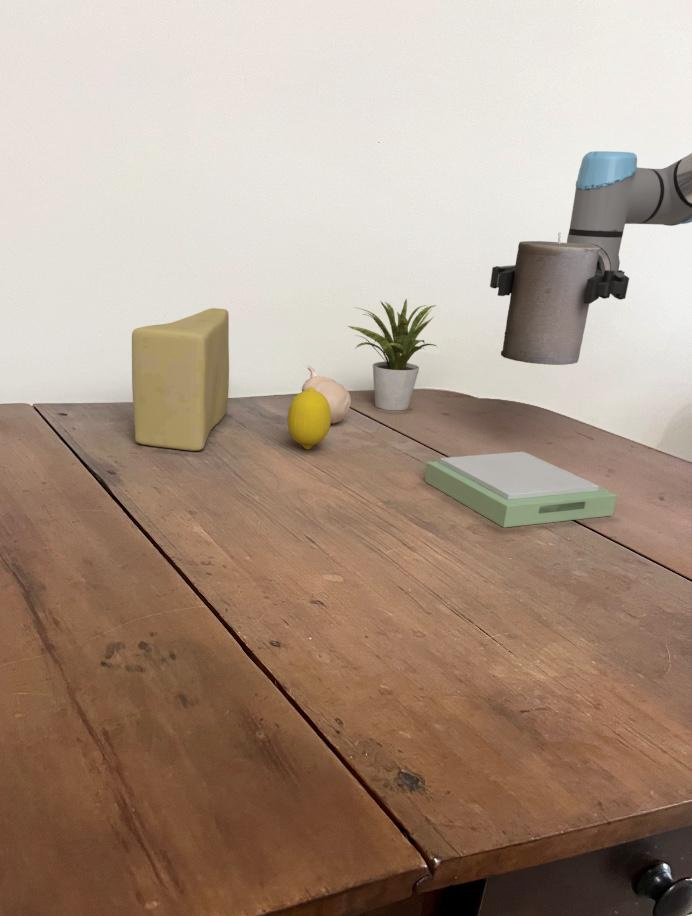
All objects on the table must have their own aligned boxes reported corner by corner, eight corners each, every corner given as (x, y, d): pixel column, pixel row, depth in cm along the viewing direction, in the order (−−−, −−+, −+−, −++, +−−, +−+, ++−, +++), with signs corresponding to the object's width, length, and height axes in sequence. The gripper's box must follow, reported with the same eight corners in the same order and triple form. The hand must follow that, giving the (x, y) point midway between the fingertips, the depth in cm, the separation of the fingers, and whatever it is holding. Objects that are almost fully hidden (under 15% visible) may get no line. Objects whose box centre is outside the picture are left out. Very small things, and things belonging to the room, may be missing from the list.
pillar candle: (485, 355, 118) (503, 230, 112) (530, 349, 124) (550, 229, 117) (550, 368, 111) (573, 236, 105) (595, 361, 117) (619, 235, 111)
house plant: (383, 390, 153) (393, 288, 146) (455, 405, 144) (470, 297, 137) (330, 403, 143) (338, 293, 136) (404, 420, 135) (416, 304, 128)
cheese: (191, 408, 137) (192, 303, 131) (253, 415, 135) (257, 309, 128) (130, 445, 118) (128, 325, 112) (201, 453, 116) (203, 331, 109)
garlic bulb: (327, 415, 136) (331, 360, 133) (356, 425, 131) (361, 368, 128) (292, 420, 132) (295, 364, 129) (321, 431, 128) (325, 373, 124)
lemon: (304, 457, 116) (308, 394, 112) (277, 447, 120) (280, 385, 116) (337, 451, 119) (342, 389, 115) (309, 441, 123) (313, 381, 119)
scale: (612, 515, 99) (618, 489, 98) (503, 528, 95) (508, 500, 93) (523, 472, 113) (527, 448, 112) (424, 481, 108) (427, 456, 107)
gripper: (655, 309, 125) (635, 329, 107) (494, 294, 134) (450, 311, 116) (668, 250, 122) (650, 261, 104) (502, 240, 131) (458, 248, 113)
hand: (544, 287), depth 110 cm, fingers closed on pillar candle, 9 cm apart
